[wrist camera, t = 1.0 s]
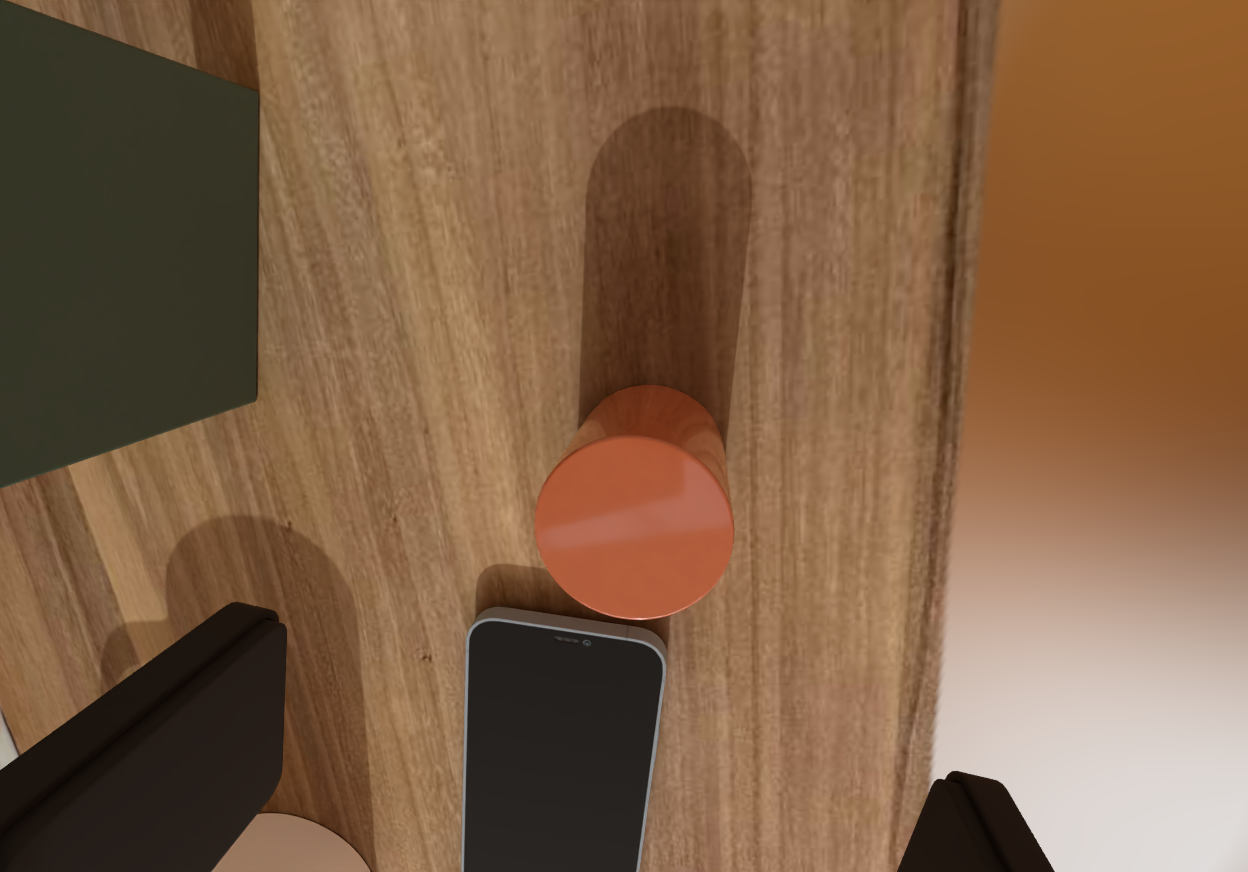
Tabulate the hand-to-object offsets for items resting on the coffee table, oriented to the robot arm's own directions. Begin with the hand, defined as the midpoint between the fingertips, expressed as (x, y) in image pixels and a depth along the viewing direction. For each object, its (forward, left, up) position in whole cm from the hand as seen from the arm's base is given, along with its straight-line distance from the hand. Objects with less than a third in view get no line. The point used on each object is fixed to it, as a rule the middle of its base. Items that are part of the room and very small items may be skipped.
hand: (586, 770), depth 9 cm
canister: (0, 0, -13) cm, 13 cm away
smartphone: (+14, -1, -13) cm, 19 cm away
